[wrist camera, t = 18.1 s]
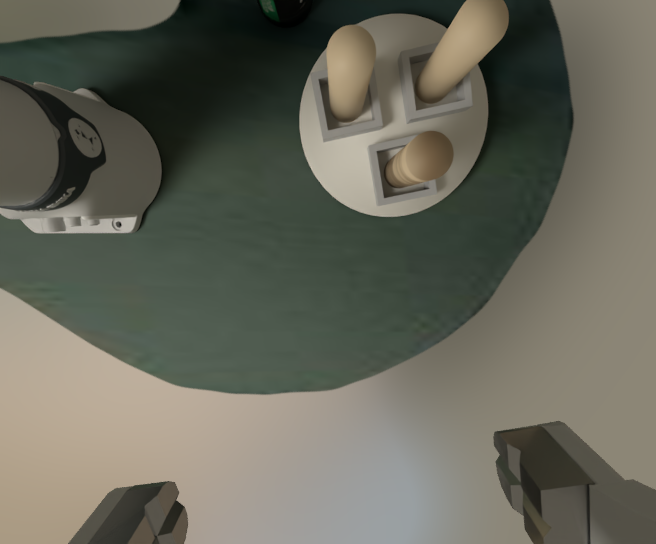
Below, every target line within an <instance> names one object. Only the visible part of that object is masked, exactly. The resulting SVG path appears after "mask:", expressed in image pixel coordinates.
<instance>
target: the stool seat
mask: <svg viewBox="0 0 656 544" xmlns="http://www.w3.org/2000/svg"><path fill="white" fill-rule="evenodd" d="M508 22H509V14H508V9H507V6H506V4H505V2H504V1H503V0H466V2H465V3H464V4H463V5H462V7H461V8H460V10H459V12H458V13H457V15H456V16H455V18H454V20H453V21H452V23H451V24H450V26H449V28H448V29H447V28H445V27H444V26H442V25H441V24H439V23H437V22H434V21H432V20H430V19H427V18H424V17H420V16H417V15H410V14H387V15H381V16H376V17H373V18H370V19H367V20H364V21H362V22H360V23H358V24H356V25H347V26H344V27H342V28H340V29H338V30H337V31H336V32H335V33H334V34H333V35H332V37H331V38H330V40H329V43H328V46H327V48H326V49H325V50H324V52H323V53H322V54H321V56H320V57H319V59H318V60H317V62H316V63H315V65H314V67H313V69H312V71H311V73H310V75H309V77H308V79H307V82H306V85H305V88H304V91H303V95H302V100H301V106H300V116H299V119H300V135H301V142H302V146H303V149H304V153H305V156H306V158H307V161H308V163H309V166H310V168H311V169H312V171H313V173H314V175H315V176H316V178H317V179H318V180H319V182H320V183H321V184H322V186H323V187H324V188H325V189H326V190H327V191H328V192H329V193H330V194H331V195H332V196H333V197H334V198H335V199H337V200H338V201H339V202H341V203H342V204H344V205H346V206H347V207H349V208H351V209H354V210H356V211H359V212H362V213H365V214H369V215H374V216H381V217H396V216H404V215H409V214H413V213H416V212H419V211H422V210H424V209H427V208H429V207H431V206H432V205H434V204H436V203H438V202H440V201H441V200H442V199H444V198H445V197H446V196H448V195H449V194H450V193H451V192H452V191H453V190H454V189H455V188H456V187H458V186H459V184H460V183H461V182H462V181H463V180H464V178H465V177H466V176H467V174H468V173H469V171H470V170H471V168H472V167H473V165H474V163H475V161H476V159H477V157H478V155H479V153H480V150H481V147H482V145H483V142H484V138H485V134H486V129H487V121H488V98H487V91H486V86H485V82H484V79H483V75H482V73H481V70H480V68H479V66H478V63H479V62H480V61H481V59H482V58H483V57H484V56H485V55H486V54H487V53H488V52H489V51H490V50H491V49H492V48H493V47H494V46H495V45H496V44H497V43H498V42H499V41H500V40H501V39H502V38H503V36H504V34H505V32H506V30H507V27H508ZM426 131H437V132H440V133H442V134H444V135H445V136H446V137H447V138H448V139H449V140H450V142H451V144H452V146H453V151H454V156H453V161H452V164H451V166H450V168H449V170H448V171H447V172H446V173H445V174H444V175H443V176H441V177H439V178H437V179H434V180H431V181H427V182H423V183H419V184H416V185H412V186H408V187H404V188H394V187H391V186H390V185H389V184H388V183H387V182H386V180H385V178H384V168H385V165H386V163H387V162H388V161H389V160H390V159H391V158H392V157H393V156H394V155H396V154H397V153H398V152H399V151H400V150H401V149H402V148H404V147H405V146H406V145H407V144H408V143H409V142H410V141H412V140H413V139H414V138H415V137H416V136H417V135H419V134H421V133H423V132H426Z"/></svg>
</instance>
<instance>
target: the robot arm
mask: <svg viewBox="0 0 656 544" xmlns="http://www.w3.org/2000/svg"><path fill="white" fill-rule="evenodd" d="M161 174H162V168H161V160H160V155H159V152H158V149H157V147H156V144H155V142H154V140H153V139H152V137H151V135H150V134H149V133H148V131H147V130H146V129H145V128H144V127H143V126H142V124H140V123H139V122H138V121H137V120H136V119H134V118H133V117H132V116H130V115H128V114H127V113H124V112H122V111H120V110H117V109H115V108H113V107H111V106H109V105H108V104H107V103H106V102H105V101H104V100H103V99H102V98H100V97H99V96H98V95H97V94H96V93H95V92H93V91H91V90H88V89H84V88H81V89H78V90H76V91H74V92H71V91H68V90H65V89H62V88H59V87H55V86H52V85H49V84H46V83H42V82H34V85H30V84H28V83H25V82H22V81H19V80H16V79H14V80H13V79H10V78H7V77H4V76H0V214H2V215H3V216H5V217H6V218H8V219H21V220H22V222H23V223H24V224H25V225H26V226H27V227H28V228H29V229H31V230H32V231H33V232H35V233H134V232H136V231H137V230H138V228H139V226H140V223H141V219H142V215H143V213H144V211H145V209H146V208H147V207H148V206H149V205H150V203H151V202H152V201H153V199H154V198H155V196H156V194H157V192H158V189H159V186H160V182H161ZM120 222H121V224H122V226H120V225H119V223H120ZM494 446H495V448H496V449H497V451H498V452H499V454H500V456H499V457H498V459H497V460H496V467H497V474H498V477H499V480H500V483H501V487H502V489H503V491H504V493H505V495H506V497H507V499H508V501H509V503H510V504H511V506H512V508H513V509H514V510H516V511H517V512H519V513H520V514H521V515H523V516H524V525H525V530H526V532H527V533H528V535H529V537H530V539H531V540H532V542H533V543H534V544H656V490H655V489H652V488H650V487H648V486H646V485H643V484H642V483H639V482H637V481H635V480H624V479H623V478H622V477H621V476H620V475H619V474H618V473H617V472H616V471H615V470H614V469H613V468H612V467H611V466H610V465H608V464H607V463H606V462H605V461H604V460H603V459H602V458H601V457H600V456H599V455H598V454H597V453H596V452H595V451H593V450H592V449H591V448H590V447H589V446H588V445H587V444H586V443H585V442H584V441H583V440H582V439H581V438H580V437H579V436H578V435H577V434H575V433H574V432H573V431H572V430H571V429H570V428H569V427H568V426H567V425H566V424H565V423H563V422H560V421H556V422H550V423H545V424H539V425H537V426H536V425H534V426H528V427H521V428H515V429H509V430H503V431H497V432H495V433H494ZM178 494H179V491H178V489H177V486H176V484H175V482H169V481H168V482H159V483H151V484H143V485H135V486H131V487H122V488H116V489H114V490H112V491H111V492H109V493H108V494H107V495H106V497H105V498H104V499H103V500H102V502H101V503H100V504H99V505H98V507H97V508H96V509H95V511H94V512H93V513H92V514H91V516H90V517H89V518H88V519H87V521H86V522H85V523H84V524H83V526H82V527H81V528H80V529H79V531H78V532H77V533H76V535H75V536H74V537H73V538H72V540H71V541H70V542H69V543H68V544H184V541H185V539H186V533H187V528H188V520H187V519H188V518H187V512H186V510H185V507H184V506H183V505H181V504H180V503H179V502H178V501H176V499H177V497H178Z"/></svg>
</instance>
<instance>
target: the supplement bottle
mask: <svg viewBox="0 0 656 544" xmlns="http://www.w3.org/2000/svg"><path fill="white" fill-rule="evenodd" d="M257 3H258V5H259V7H260V10H261V11H262V13H263V15H264V16H265V17H266V19H267V20H268V21H270V22H271V23H272V24H274V25H276V26H278V27H283V28H289V27H293V26H296V25H298V24H299V23H301V22H302V21H303V20H304V19H305V18H306V17H307V15H308V13H309V12H310V9H311V6H312V3H313V0H257Z"/></svg>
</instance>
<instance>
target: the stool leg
mask: <svg viewBox="0 0 656 544" xmlns="http://www.w3.org/2000/svg"><path fill="white" fill-rule="evenodd" d="M453 156H454V151H453V146H452V144H451V142H450V140H449V139H448V138H447V137H446V136H445V135H444V134H442V133H440V132H437V131H426V132H423V133H421V134H419V135H417V136H416V137H415V138H414V139H413V140H412V141H410V142H409V143H408V144H407V145H406V146H405V147H404V148H402V149H401V150H400V151H399V152H398V153H397V154H396V155H394V156H393V157H392V158H391V159H390V160H389V161H388V162H387V163H386V165H385V168H384V178H385V180H386V182H387V183H388V184H389V185H390V186H391V187H394V188H404V187H408V186H412V185H416V184H419V183H423V182H427V181H431V180H434V179H437V178H439V177H441V176H443V175H444V174H445V173H446V172H447V171H448V170H449V168H450V166H451V164H452V161H453Z"/></svg>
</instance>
